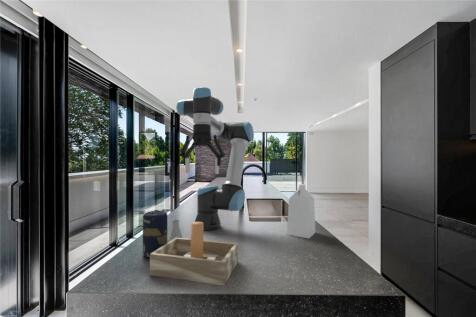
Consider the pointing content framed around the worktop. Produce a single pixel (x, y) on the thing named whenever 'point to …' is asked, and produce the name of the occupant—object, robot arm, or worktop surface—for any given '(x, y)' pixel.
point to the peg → (197, 240)
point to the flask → (174, 230)
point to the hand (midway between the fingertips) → (202, 173)
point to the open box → (195, 261)
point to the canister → (154, 231)
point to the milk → (301, 214)
